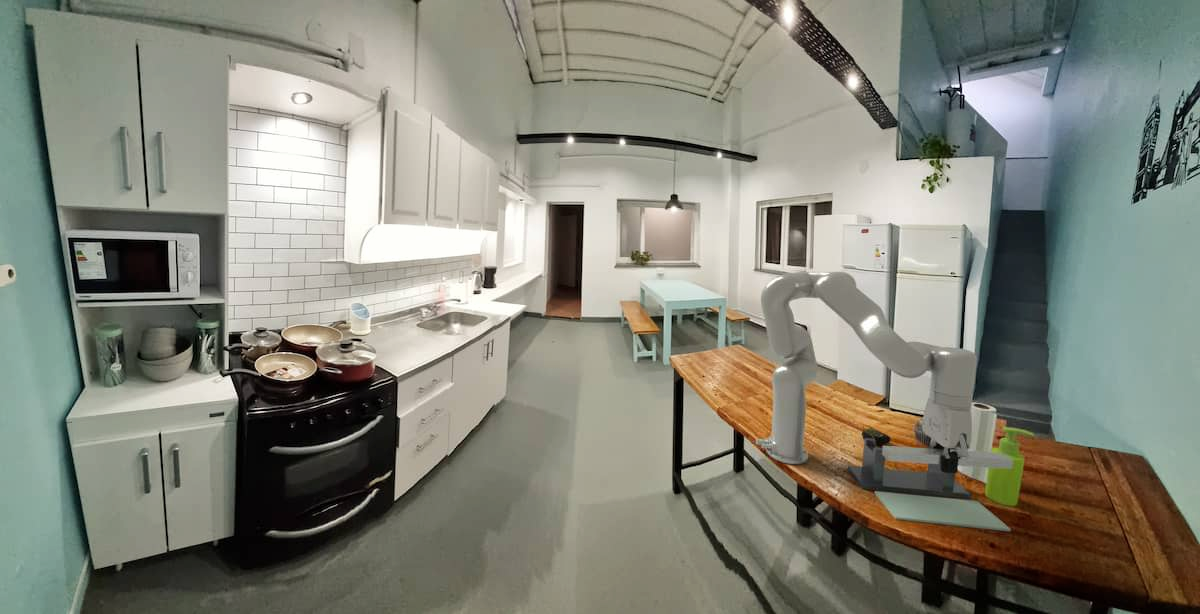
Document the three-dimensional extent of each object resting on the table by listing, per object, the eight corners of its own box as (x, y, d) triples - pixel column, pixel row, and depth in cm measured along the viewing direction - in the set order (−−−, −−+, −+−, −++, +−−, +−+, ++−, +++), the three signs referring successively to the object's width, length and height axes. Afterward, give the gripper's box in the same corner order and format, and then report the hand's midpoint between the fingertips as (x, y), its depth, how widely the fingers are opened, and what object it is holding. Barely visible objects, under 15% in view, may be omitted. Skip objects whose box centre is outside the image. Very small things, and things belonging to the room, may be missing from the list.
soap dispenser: (1027, 510, 94) (1039, 437, 90) (989, 501, 97) (1000, 431, 94) (1017, 496, 98) (1029, 427, 95) (981, 488, 102) (991, 421, 99)
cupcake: (923, 433, 132) (926, 407, 130) (956, 447, 123) (960, 419, 121) (905, 438, 129) (908, 412, 127) (937, 452, 120) (941, 424, 118)
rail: (888, 460, 93) (889, 451, 93) (882, 454, 96) (882, 445, 95) (1011, 469, 88) (1013, 459, 87) (1001, 462, 90) (1002, 452, 90)
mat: (895, 519, 92) (895, 516, 92) (874, 493, 101) (874, 491, 101) (1010, 531, 87) (1010, 529, 87) (976, 503, 97) (977, 501, 96)
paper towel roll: (957, 465, 113) (966, 399, 110) (985, 473, 109) (996, 405, 105) (956, 475, 108) (966, 407, 105) (986, 484, 104) (997, 413, 100)
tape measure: (891, 445, 125) (892, 435, 125) (876, 449, 123) (877, 438, 123) (871, 436, 132) (872, 426, 131) (857, 439, 130) (857, 429, 129)
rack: (861, 488, 103) (865, 451, 102) (847, 469, 112) (850, 435, 110) (970, 499, 98) (976, 459, 96) (946, 478, 107) (951, 442, 105)
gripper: (911, 385, 98) (906, 449, 101) (957, 411, 82) (949, 486, 85) (944, 386, 96) (938, 451, 99) (997, 413, 81) (987, 489, 83)
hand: (943, 467), depth 92 cm, fingers closed on rail, 3 cm apart
